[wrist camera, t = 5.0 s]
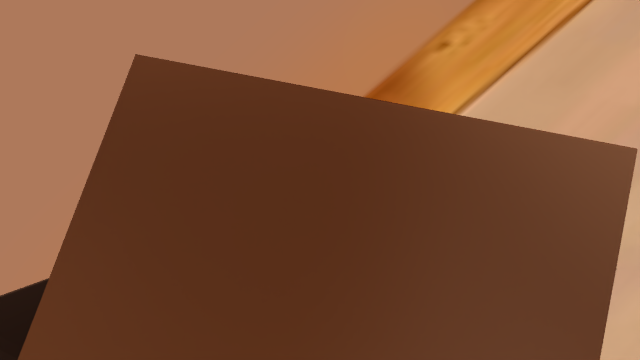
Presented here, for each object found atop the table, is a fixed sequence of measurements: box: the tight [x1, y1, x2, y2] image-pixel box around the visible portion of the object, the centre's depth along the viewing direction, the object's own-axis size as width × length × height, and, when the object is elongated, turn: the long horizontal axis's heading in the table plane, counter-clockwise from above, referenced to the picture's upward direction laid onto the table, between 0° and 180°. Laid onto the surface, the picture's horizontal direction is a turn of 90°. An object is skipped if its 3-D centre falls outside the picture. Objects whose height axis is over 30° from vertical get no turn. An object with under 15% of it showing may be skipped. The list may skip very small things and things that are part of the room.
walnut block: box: [18, 54, 637, 360], centre depth 8 cm, size 4×4×12 cm
